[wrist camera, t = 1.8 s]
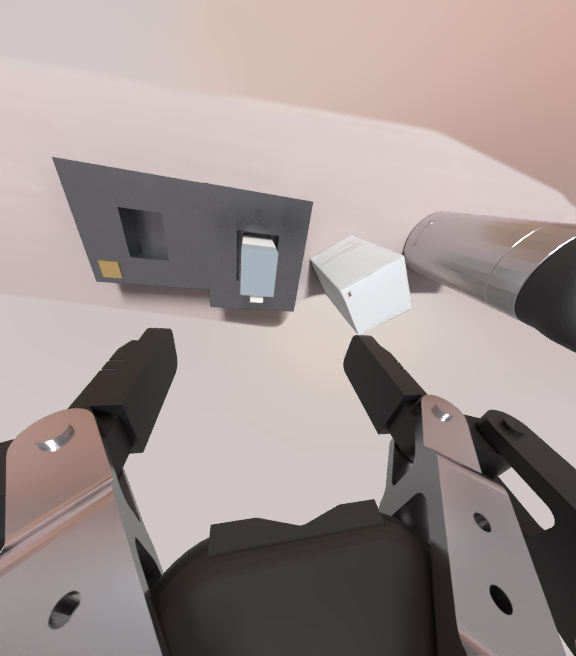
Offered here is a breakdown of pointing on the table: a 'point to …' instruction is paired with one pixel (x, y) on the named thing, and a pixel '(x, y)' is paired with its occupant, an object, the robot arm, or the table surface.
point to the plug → (258, 267)
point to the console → (182, 232)
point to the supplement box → (364, 282)
